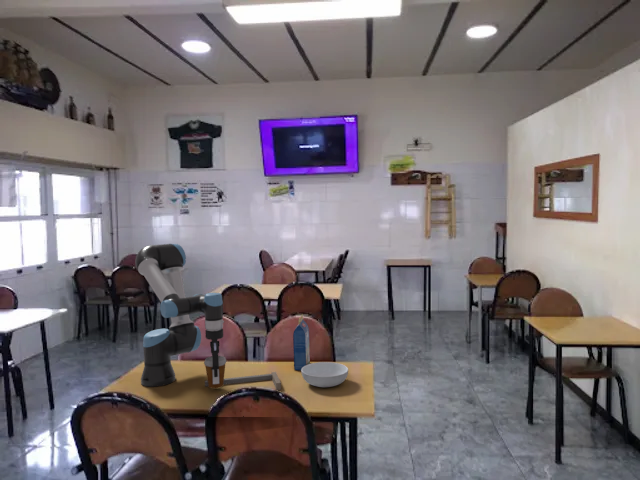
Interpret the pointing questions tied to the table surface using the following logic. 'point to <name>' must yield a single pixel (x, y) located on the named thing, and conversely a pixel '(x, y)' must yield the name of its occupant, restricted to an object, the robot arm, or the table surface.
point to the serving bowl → (324, 374)
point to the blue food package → (301, 345)
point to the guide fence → (253, 379)
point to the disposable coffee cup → (209, 372)
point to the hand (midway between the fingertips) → (215, 379)
